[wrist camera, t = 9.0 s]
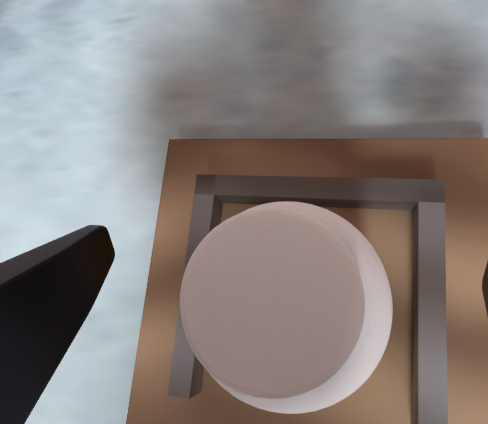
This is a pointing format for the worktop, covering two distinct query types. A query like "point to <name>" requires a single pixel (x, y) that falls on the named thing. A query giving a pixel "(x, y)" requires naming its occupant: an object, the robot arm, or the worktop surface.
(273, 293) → the supplement bottle
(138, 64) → the worktop surface
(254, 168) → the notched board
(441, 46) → the worktop surface
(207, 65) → the worktop surface
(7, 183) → the worktop surface
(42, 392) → the robot arm
